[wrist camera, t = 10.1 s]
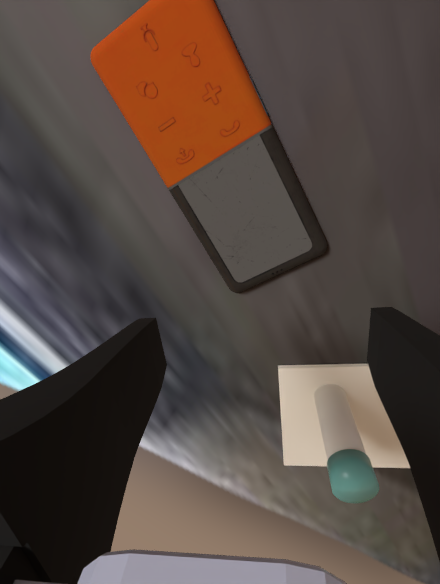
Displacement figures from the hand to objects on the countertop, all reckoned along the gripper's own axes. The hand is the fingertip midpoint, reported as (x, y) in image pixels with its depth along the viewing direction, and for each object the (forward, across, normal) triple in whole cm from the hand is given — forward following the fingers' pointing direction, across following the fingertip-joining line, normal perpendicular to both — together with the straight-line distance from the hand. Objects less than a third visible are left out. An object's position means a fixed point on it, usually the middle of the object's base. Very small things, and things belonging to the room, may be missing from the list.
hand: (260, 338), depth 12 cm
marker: (+10, -4, +12) cm, 16 cm away
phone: (+11, +2, -5) cm, 12 cm away
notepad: (+10, -8, +14) cm, 19 cm away
